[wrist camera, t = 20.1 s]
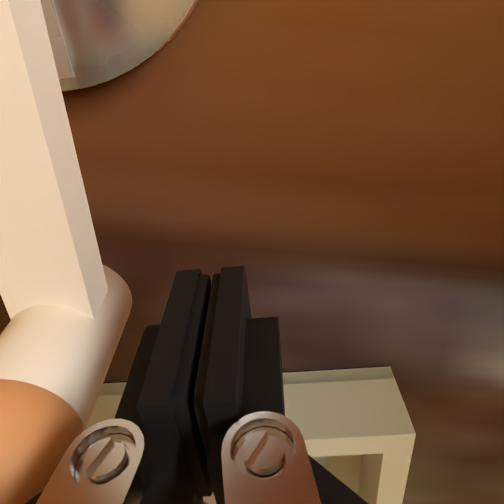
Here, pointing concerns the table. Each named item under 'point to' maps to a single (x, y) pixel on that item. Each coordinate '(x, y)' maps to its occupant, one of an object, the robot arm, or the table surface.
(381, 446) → the tray
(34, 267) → the crank
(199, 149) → the table surface
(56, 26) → the crank base
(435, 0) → the table surface
